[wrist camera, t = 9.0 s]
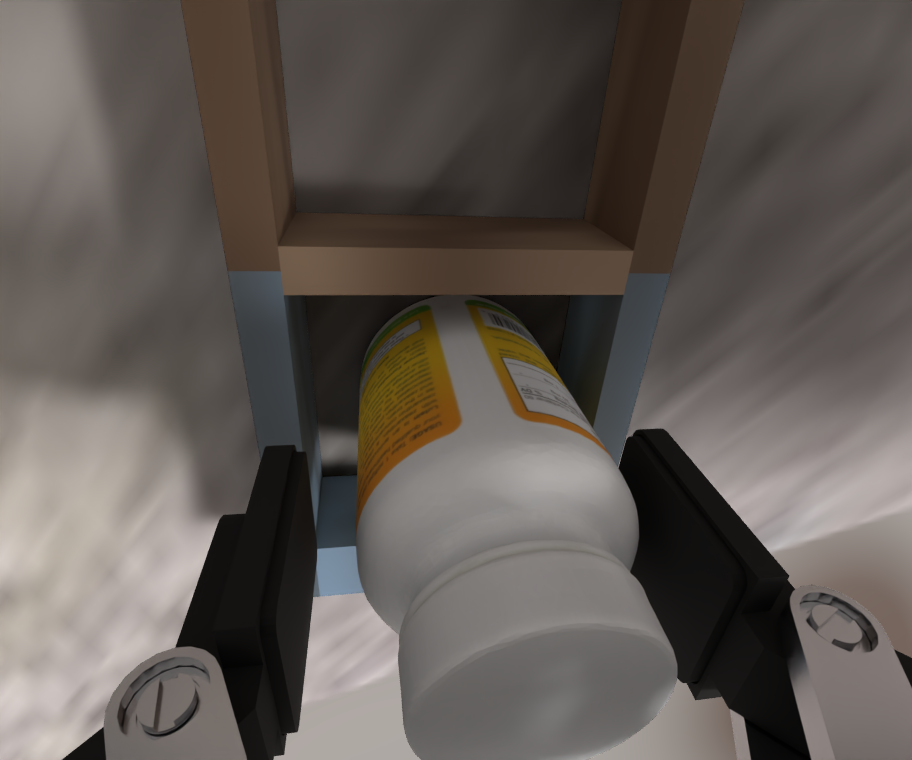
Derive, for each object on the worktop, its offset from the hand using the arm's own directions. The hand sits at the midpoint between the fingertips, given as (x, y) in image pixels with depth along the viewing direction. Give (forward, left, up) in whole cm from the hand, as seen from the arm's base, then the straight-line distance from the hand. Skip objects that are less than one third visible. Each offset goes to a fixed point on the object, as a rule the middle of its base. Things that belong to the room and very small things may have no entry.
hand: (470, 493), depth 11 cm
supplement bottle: (0, 0, -5) cm, 5 cm away
